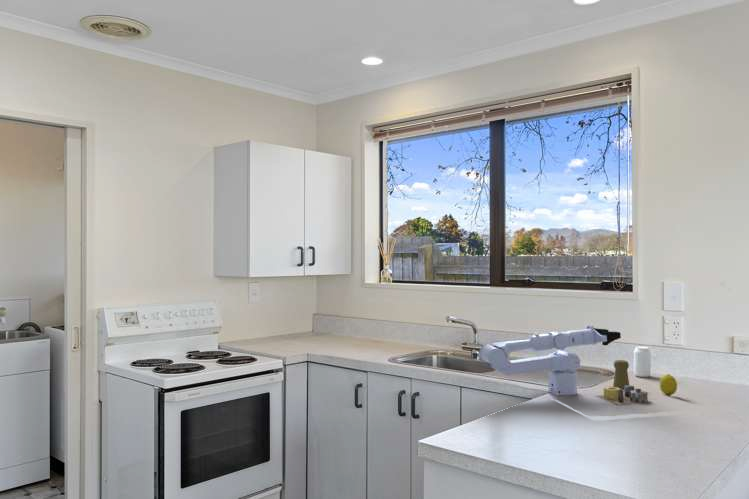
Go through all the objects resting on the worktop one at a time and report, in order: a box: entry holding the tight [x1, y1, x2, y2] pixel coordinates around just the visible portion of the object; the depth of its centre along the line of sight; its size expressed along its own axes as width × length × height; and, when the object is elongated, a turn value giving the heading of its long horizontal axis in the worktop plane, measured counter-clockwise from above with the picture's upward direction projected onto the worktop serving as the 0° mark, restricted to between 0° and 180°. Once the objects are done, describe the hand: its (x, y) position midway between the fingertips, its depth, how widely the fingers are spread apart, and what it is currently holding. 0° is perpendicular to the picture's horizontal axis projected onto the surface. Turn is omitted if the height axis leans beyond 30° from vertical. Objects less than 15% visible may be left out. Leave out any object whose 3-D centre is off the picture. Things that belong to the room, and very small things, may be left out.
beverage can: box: [633, 345, 652, 378], centre depth 247 cm, size 6×6×12 cm
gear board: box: [596, 384, 653, 406], centre depth 206 cm, size 14×13×5 cm
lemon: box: [659, 373, 678, 397], centre depth 213 cm, size 6×6×8 cm
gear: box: [603, 386, 622, 399], centre depth 209 cm, size 5×5×3 cm
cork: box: [612, 359, 630, 390], centre depth 224 cm, size 6×6×11 cm
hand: (613, 333), depth 220 cm, fingers open, 7 cm apart
